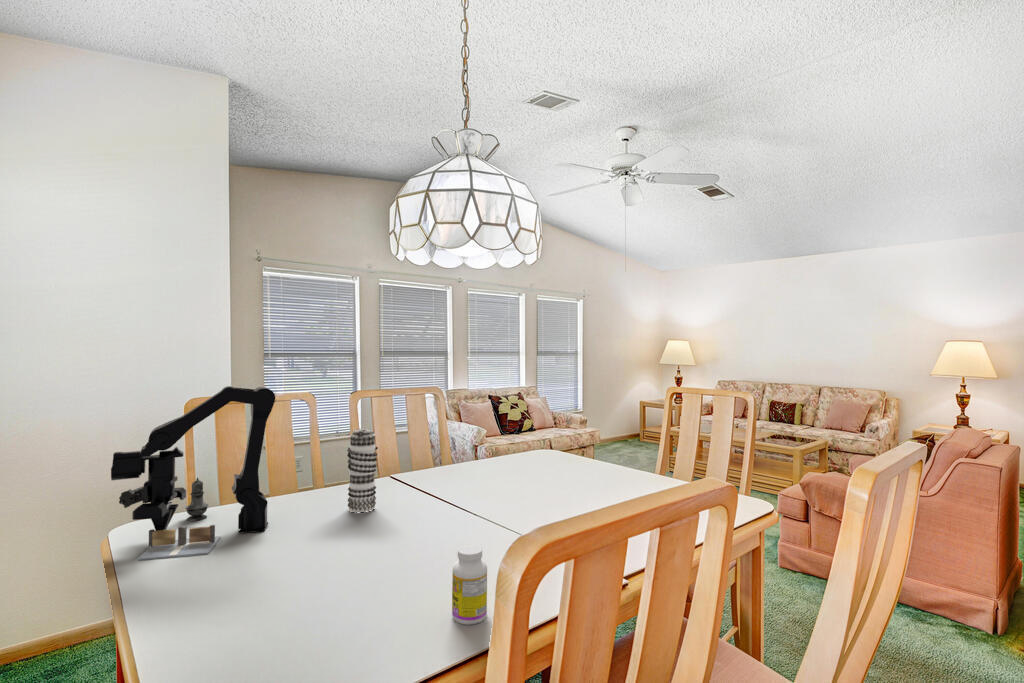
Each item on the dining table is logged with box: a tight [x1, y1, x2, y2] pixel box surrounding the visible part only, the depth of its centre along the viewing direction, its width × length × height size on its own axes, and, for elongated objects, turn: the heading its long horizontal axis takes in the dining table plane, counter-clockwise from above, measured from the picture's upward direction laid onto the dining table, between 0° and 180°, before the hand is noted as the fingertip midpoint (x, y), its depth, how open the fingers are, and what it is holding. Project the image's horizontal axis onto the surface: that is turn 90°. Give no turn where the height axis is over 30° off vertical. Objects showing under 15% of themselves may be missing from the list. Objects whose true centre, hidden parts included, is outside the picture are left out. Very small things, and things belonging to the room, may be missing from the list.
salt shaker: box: [185, 477, 209, 522], centre depth 153 cm, size 6×6×12 cm
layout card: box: [137, 535, 222, 561], centre depth 130 cm, size 15×11×1 cm
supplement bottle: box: [451, 544, 488, 626], centre depth 99 cm, size 7×7×13 cm
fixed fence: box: [177, 524, 216, 546], centre depth 133 cm, size 8×2×5 cm, turn 106°
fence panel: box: [148, 528, 176, 547], centre depth 131 cm, size 6×1×4 cm, turn 106°
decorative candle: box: [347, 428, 379, 513], centre depth 163 cm, size 9×9×25 cm
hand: (160, 536), depth 133 cm, fingers closed
